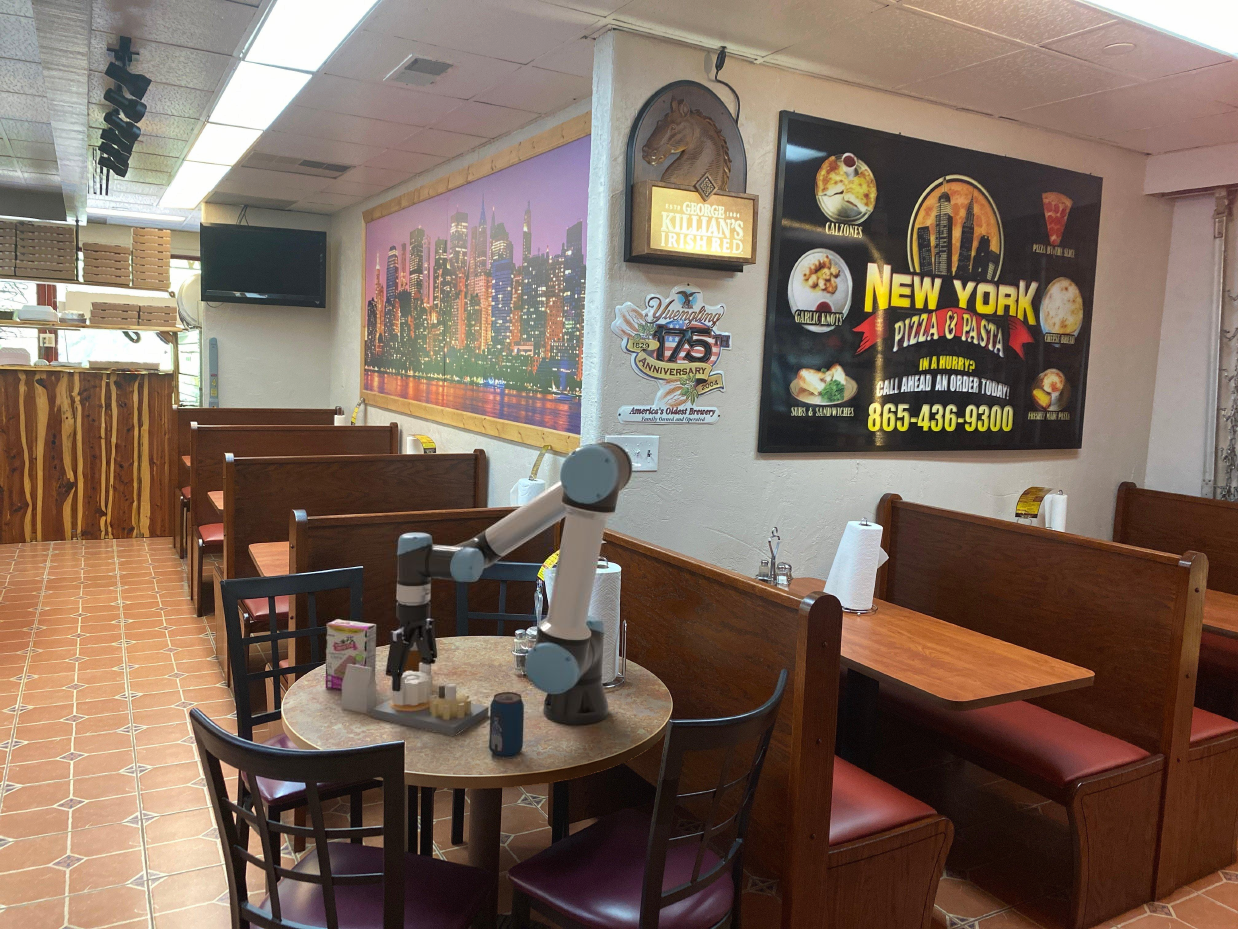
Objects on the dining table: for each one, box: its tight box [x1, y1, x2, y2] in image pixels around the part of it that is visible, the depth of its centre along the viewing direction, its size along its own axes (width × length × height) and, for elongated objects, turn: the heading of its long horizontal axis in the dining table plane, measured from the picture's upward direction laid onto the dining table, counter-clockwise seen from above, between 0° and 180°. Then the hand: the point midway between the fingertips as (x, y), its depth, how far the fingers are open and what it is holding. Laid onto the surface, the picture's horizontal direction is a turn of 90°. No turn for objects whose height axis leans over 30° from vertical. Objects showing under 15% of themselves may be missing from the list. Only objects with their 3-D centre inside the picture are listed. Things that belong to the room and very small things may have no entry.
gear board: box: [370, 676, 490, 737], centre depth 200 cm, size 22×14×8 cm, turn 67°
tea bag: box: [341, 664, 377, 714], centre depth 203 cm, size 4×7×10 cm, turn 70°
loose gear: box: [390, 671, 433, 705], centre depth 202 cm, size 9×9×5 cm
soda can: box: [488, 691, 525, 760], centre depth 182 cm, size 7×7×12 cm
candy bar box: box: [325, 618, 377, 692], centre depth 215 cm, size 11×5×16 cm, turn 76°
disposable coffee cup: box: [403, 641, 432, 673], centre depth 221 cm, size 10×10×12 cm
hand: (411, 697), depth 202 cm, fingers closed on loose gear, 9 cm apart
